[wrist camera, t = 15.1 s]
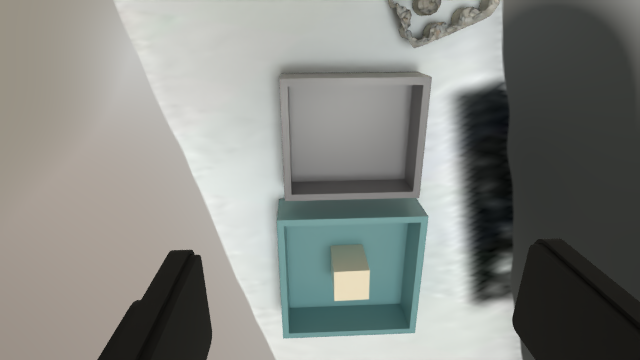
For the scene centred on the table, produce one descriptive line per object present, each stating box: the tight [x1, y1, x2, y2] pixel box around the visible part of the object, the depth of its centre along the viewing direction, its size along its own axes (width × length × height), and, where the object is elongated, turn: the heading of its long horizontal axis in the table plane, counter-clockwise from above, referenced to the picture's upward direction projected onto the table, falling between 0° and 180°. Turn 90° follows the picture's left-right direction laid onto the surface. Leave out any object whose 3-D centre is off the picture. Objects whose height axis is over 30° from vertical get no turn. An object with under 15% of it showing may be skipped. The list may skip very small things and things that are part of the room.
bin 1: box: [279, 72, 432, 201], centre depth 44 cm, size 14×16×5 cm
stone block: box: [330, 244, 370, 301], centre depth 49 cm, size 4×4×6 cm
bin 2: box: [277, 198, 428, 338], centre depth 50 cm, size 18×18×6 cm
